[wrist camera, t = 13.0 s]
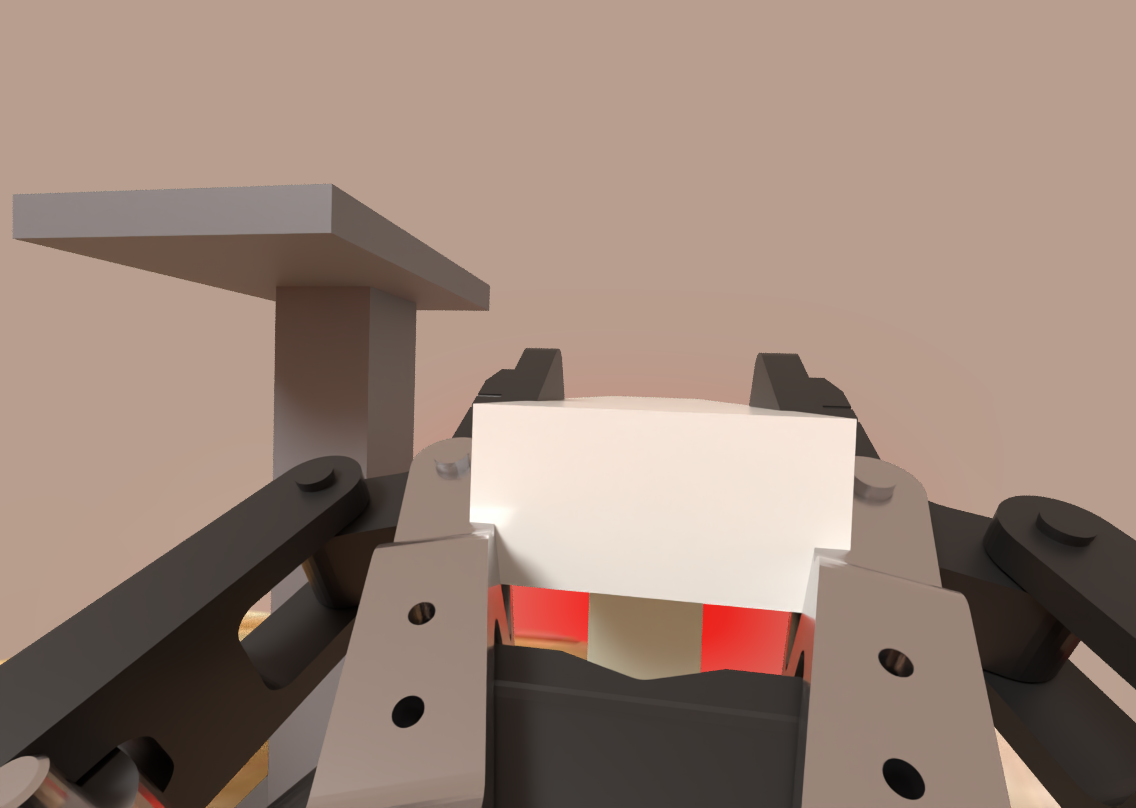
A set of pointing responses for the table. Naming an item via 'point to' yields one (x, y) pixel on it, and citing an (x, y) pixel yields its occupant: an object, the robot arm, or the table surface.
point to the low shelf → (645, 635)
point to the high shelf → (288, 334)
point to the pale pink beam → (662, 496)
